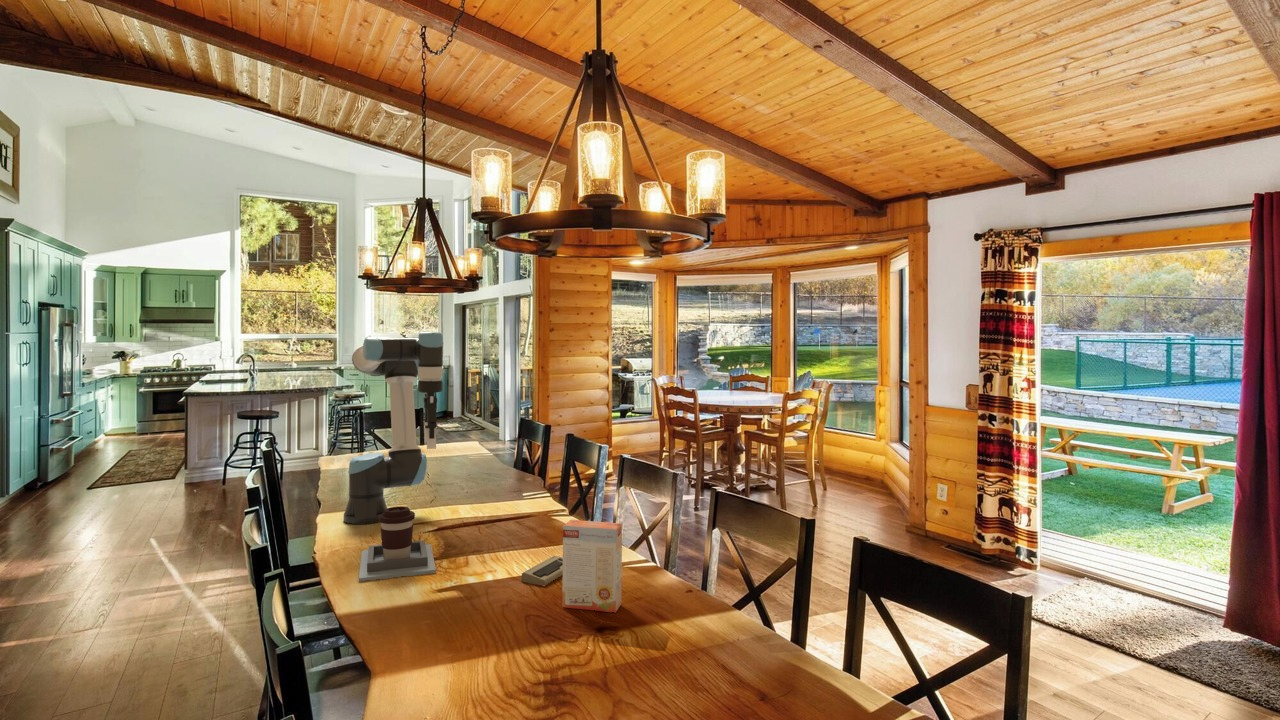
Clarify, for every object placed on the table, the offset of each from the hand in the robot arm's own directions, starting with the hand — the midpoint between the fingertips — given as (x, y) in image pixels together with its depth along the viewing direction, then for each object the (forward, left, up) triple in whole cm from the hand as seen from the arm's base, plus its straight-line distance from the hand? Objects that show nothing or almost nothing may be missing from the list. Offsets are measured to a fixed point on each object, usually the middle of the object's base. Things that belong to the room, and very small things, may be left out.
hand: (430, 445), depth 205 cm
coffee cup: (+17, -10, -31) cm, 37 cm away
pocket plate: (+17, -10, -32) cm, 37 cm away
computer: (+40, +30, -32) cm, 60 cm away
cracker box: (+65, +35, -32) cm, 80 cm away
